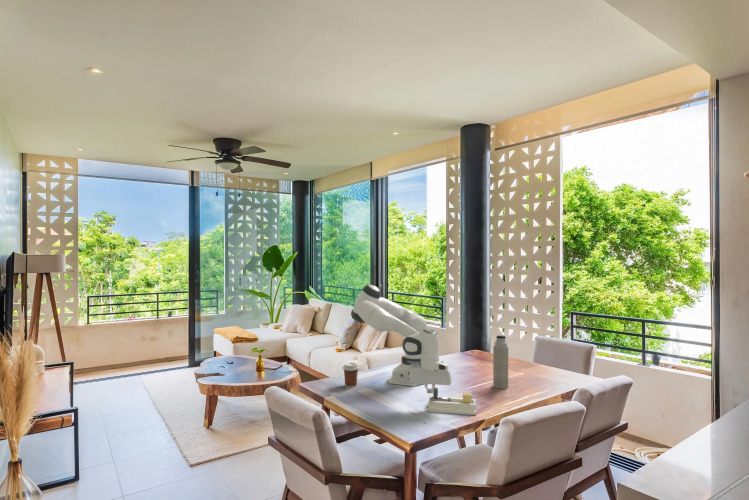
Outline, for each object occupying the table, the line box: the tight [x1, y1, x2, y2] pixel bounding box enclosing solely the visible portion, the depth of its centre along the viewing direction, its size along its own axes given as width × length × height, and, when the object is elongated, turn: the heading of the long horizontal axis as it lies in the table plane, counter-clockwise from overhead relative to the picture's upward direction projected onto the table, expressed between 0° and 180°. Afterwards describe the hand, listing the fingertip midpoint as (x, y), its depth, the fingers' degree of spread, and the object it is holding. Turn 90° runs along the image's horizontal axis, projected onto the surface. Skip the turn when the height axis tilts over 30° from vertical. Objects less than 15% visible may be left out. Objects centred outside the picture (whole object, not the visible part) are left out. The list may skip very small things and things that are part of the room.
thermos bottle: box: [492, 335, 509, 390], centre depth 245 cm, size 8×8×28 cm
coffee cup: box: [342, 362, 360, 388], centre depth 245 cm, size 9×9×12 cm
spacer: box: [462, 392, 473, 403], centre depth 208 cm, size 4×4×6 cm
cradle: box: [427, 395, 478, 416], centre depth 209 cm, size 22×12×4 cm, turn 79°
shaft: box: [431, 387, 452, 402], centre depth 210 cm, size 9×3×7 cm, turn 79°
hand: (429, 392), depth 211 cm, fingers closed
